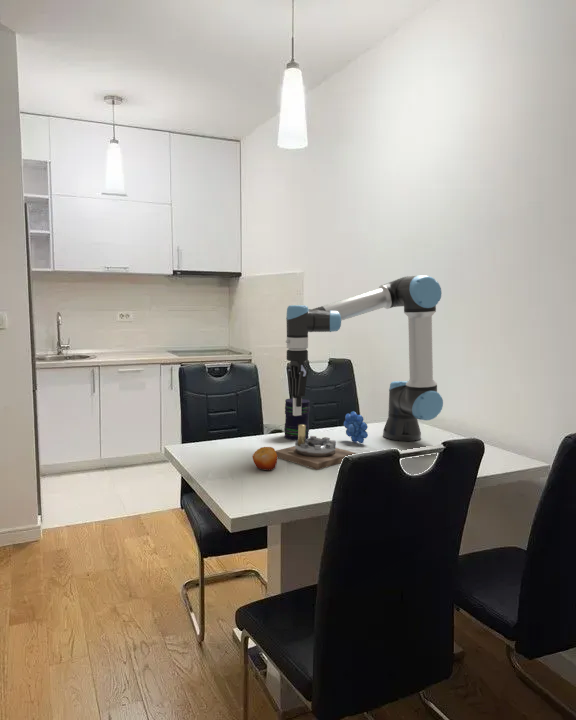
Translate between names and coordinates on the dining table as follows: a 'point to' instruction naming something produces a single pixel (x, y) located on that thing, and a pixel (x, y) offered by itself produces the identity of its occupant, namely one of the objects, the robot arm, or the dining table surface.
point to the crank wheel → (313, 444)
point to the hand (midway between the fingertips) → (297, 415)
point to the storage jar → (296, 419)
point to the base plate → (313, 458)
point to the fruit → (265, 458)
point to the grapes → (355, 427)
